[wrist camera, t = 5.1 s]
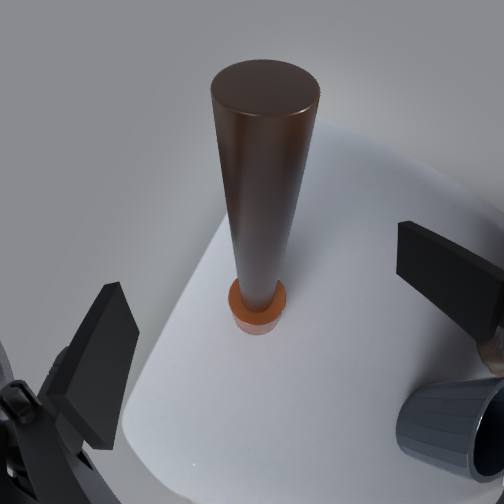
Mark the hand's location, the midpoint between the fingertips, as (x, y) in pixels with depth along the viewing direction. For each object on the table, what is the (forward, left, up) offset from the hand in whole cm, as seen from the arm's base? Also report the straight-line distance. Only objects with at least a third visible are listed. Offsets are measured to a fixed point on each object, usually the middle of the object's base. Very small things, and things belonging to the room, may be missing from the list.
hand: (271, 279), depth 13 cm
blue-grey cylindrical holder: (+15, -15, -16) cm, 26 cm away
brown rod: (0, +2, -16) cm, 16 cm away
